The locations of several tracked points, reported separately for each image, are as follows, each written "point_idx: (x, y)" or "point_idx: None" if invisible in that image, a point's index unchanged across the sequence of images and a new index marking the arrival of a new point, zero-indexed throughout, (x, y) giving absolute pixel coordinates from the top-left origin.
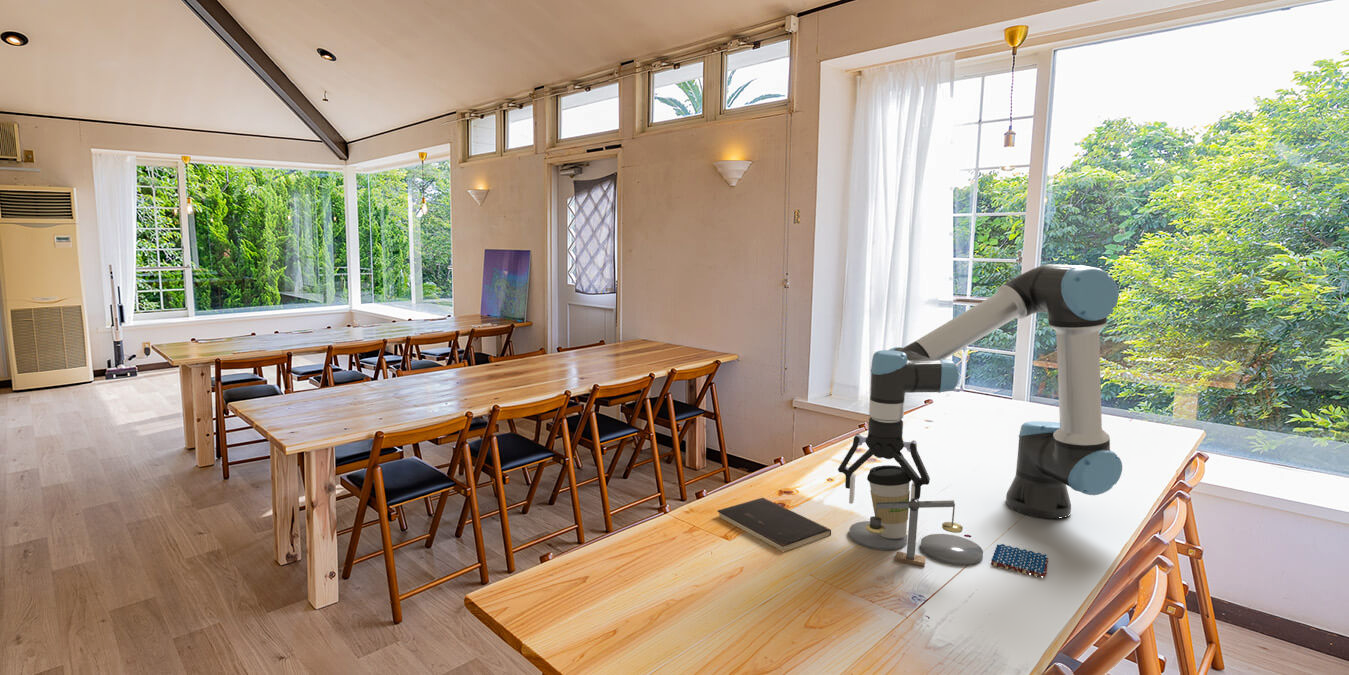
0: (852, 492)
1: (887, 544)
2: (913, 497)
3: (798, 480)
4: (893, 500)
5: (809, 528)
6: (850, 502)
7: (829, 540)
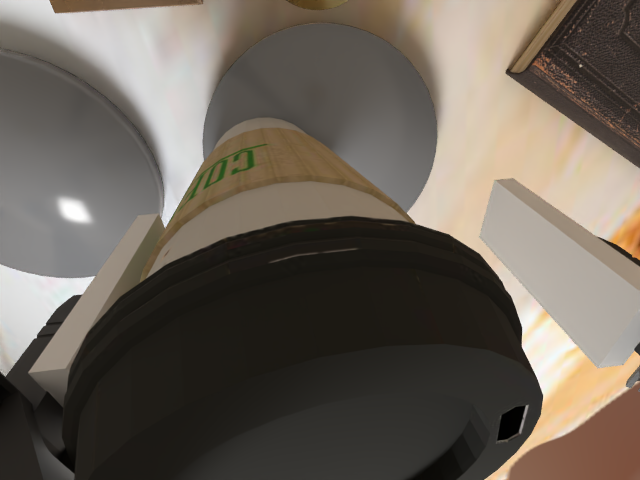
0: (544, 215)
1: (258, 54)
2: (93, 284)
3: (562, 379)
4: (228, 182)
5: (635, 14)
6: (508, 182)
7: (515, 8)
